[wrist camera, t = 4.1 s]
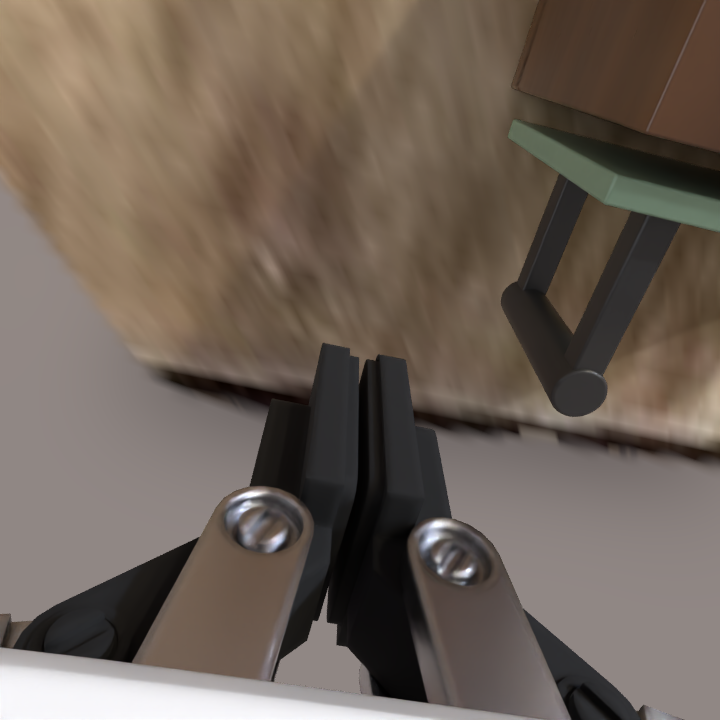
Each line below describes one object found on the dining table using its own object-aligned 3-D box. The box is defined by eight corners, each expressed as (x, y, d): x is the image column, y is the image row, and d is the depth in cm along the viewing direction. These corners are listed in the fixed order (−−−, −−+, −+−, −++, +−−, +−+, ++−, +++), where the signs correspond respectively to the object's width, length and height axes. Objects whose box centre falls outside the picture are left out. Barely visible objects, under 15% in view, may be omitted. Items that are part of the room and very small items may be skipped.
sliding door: (456, 286, 21) (508, 421, 14) (513, 118, 18) (616, 174, 11) (679, 335, 22) (838, 484, 15) (766, 182, 19) (1017, 274, 12)
